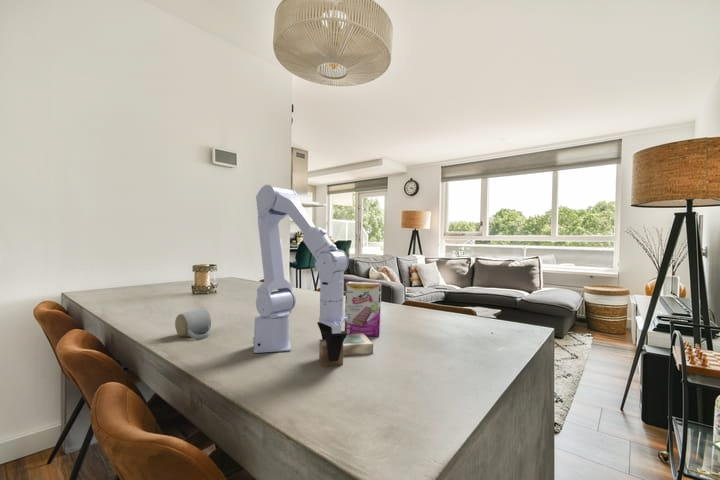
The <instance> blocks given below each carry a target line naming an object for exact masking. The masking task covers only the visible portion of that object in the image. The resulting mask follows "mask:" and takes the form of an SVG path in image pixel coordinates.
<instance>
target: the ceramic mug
mask: <svg viewBox="0 0 720 480" xmlns="http://www.w3.org/2000/svg"><path fill="white" fill-rule="evenodd" d="M174 325H175V326H174V327H175V330H176V332H177V334H178V336H180V337H182V338H185V337H186V338H187V337H191V338H192V339H195V340H203V339H206V338H208V337H209V336H210V332H211V327H212V319H211V314H210V312H209V311H208V309H206V308H205V307H202V308H198V309H197V308H196V309H194V310H189V311H185V312H182V313H179V314H177V316H176V318H175V320H174Z"/></svg>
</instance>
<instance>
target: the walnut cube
mask: <svg viewBox="0 0 720 480" xmlns="http://www.w3.org/2000/svg"><path fill="white" fill-rule="evenodd" d="M318 347H319V350H318V352H319V353H318V357H319V358H318V359H319V362H320V365H321V367H322V368H325V367H335V366H343V365H344V355H343V344H342V347H341V352H340V356H339V360H338V361H332V362H330V361H329V358H328V352H327V345H326V341H325V339H323V340H322V339H319V346H318Z"/></svg>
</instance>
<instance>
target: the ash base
mask: <svg viewBox="0 0 720 480" xmlns="http://www.w3.org/2000/svg"><path fill="white" fill-rule="evenodd" d="M369 354H374V343H373V342H372V341H371V340H370V339H369V338H368V336H365V335H364V334H347V336H346V338H345V339H344V342H343V356H353V355H369Z"/></svg>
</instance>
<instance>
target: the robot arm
mask: <svg viewBox="0 0 720 480" xmlns="http://www.w3.org/2000/svg"><path fill="white" fill-rule="evenodd" d="M255 199H256V207H257V208H256V210H257V225H258V226H257V227H258V233H259V234H258V236H259V244H260V254H261V255H260V256H261V261H262V263H261V264H262V271H263V282H262V283H261V284H260V285H259V286H258V287H257V289H256V300H255V309H256V311H257V313H258V314H259V315H256V316H255V317H254V326H253V328H254V330H253V331H254V332H253V333H254V334H253V336H252V337H253V339H252V344H253V353H255V354H258V353H274V352H275V353H276V352H290V351H291V350H292V346H291V340H290V315H291V314H292V310H293V309H294V308H295V307H296V299H297V298H296V295H295V293H294V291H293V286H292V284H291V283H290V282H289V281H288V280H287V279H286V278H285V270H284V263H283V256H282V255H283V253H282V247H281V246H282V245H281V238H280V228H279V227H280V226H279V223H280V221H282V220H283V219H285V218H286V217H287V216H289V218H290V219H291V220H292V221H293V223H294V224H295V225H296V226H297V228H298V229H299V230H300V231H301V232H302V233H303V237H302V241H303V243H304V244H305V246H306V247H307V249H308V250H309V252H310V253H311V255H312V256H313V258H314V259H315V260H316V261H315V262H314V265H315V269H316V271H317V272H318V279H319V282H320V284H319V289H320V290H319V318H318V322H317V326H318V328H319V331H320V333H321V334H320V335H321V340H323V339H325V341H326V345H327V352H328V358H329V361H330V362H332V361H338V360H339V356H340V352H341V347H342V344H343V342H344V339H345V338H346V336H347V332H346V331H345V330H342V325H343V323H345V321H347V320H348V317H347V316H345V315H344V297H345V296H344V290H345V288H344V286H345V285H344V284H345V283H344V282H345V281H344V278H345V274H344V273H345V272H346V271H347V269H348V267H349V257H348V255H347V253H346V252H345V251H344V250H342V249H338V248H337V245H336V244H335V243H333V242H332V241H331V239H330V237H329V236H328V235H327V233H328V232H327V230H326V229H325V228H323V227H320V226H315V224H314V222H313V221H312V219H311V218H310V216H309V214H308V213H307V211H306V210H305V208H304V207H303V205H302V203H301V197H300V196H299V195H298V194H297V192H296V190H294V189H292V188H284V187H280V186H279V187H278V186H274V185H273V186H272V185H271V184H264V185H262V187H260V189H259V190H258V192H257V194H256V195H255Z"/></svg>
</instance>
